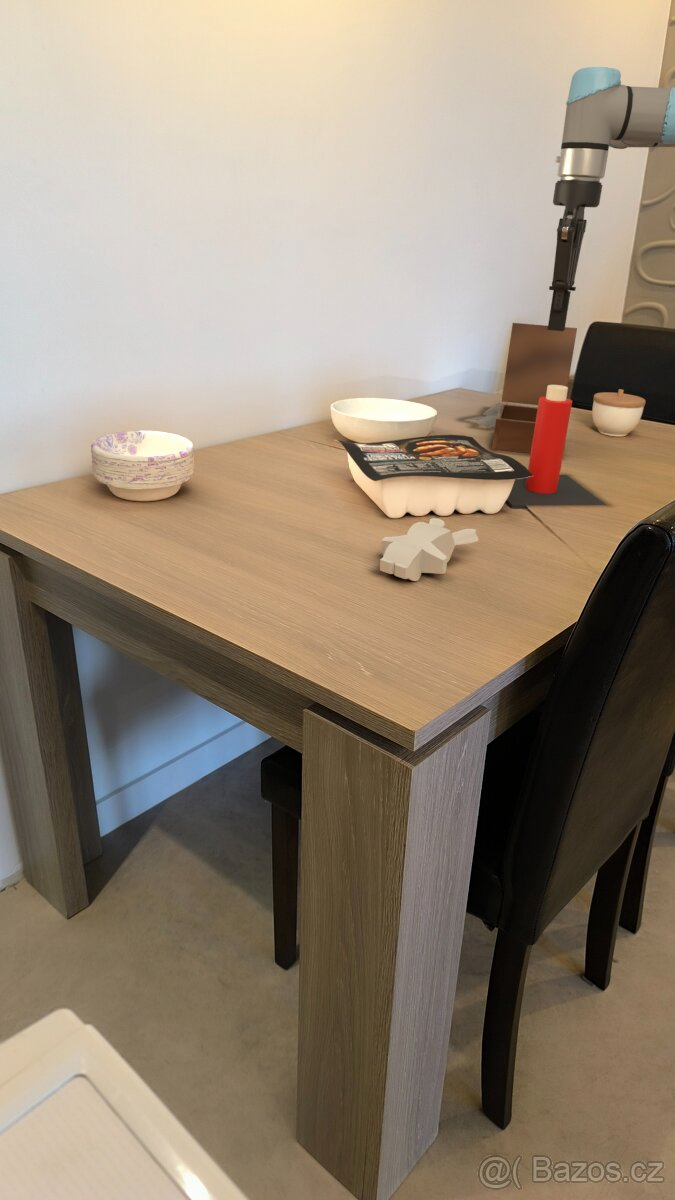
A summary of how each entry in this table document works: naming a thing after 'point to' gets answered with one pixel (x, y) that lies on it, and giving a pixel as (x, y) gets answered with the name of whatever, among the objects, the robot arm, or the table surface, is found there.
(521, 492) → the mat
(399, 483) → the food packaging
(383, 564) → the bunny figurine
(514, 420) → the chest
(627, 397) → the trinket box
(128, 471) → the paper bowls
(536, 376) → the chest lid
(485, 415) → the cloth
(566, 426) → the ketchup
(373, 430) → the serving bowl
